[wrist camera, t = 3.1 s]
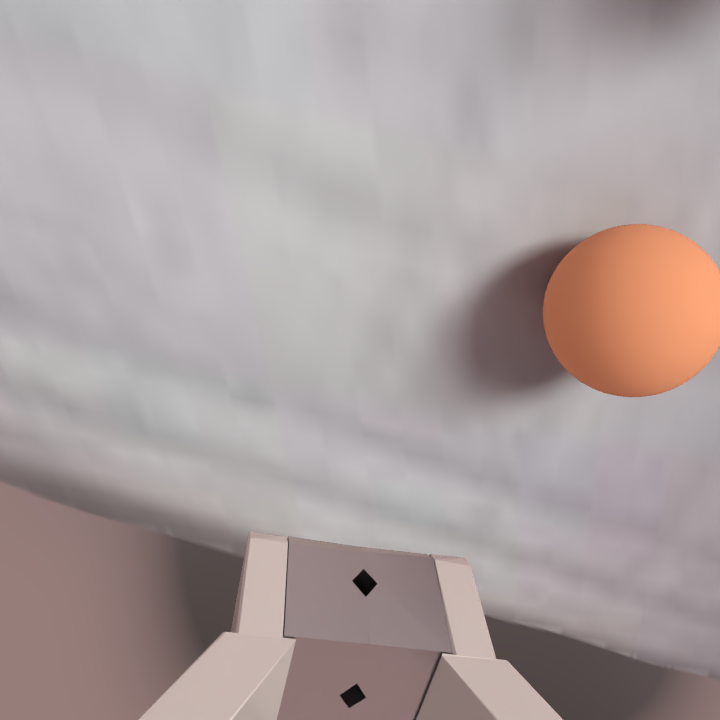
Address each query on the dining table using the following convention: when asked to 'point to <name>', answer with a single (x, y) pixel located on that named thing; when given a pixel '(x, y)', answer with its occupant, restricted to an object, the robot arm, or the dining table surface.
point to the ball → (634, 310)
